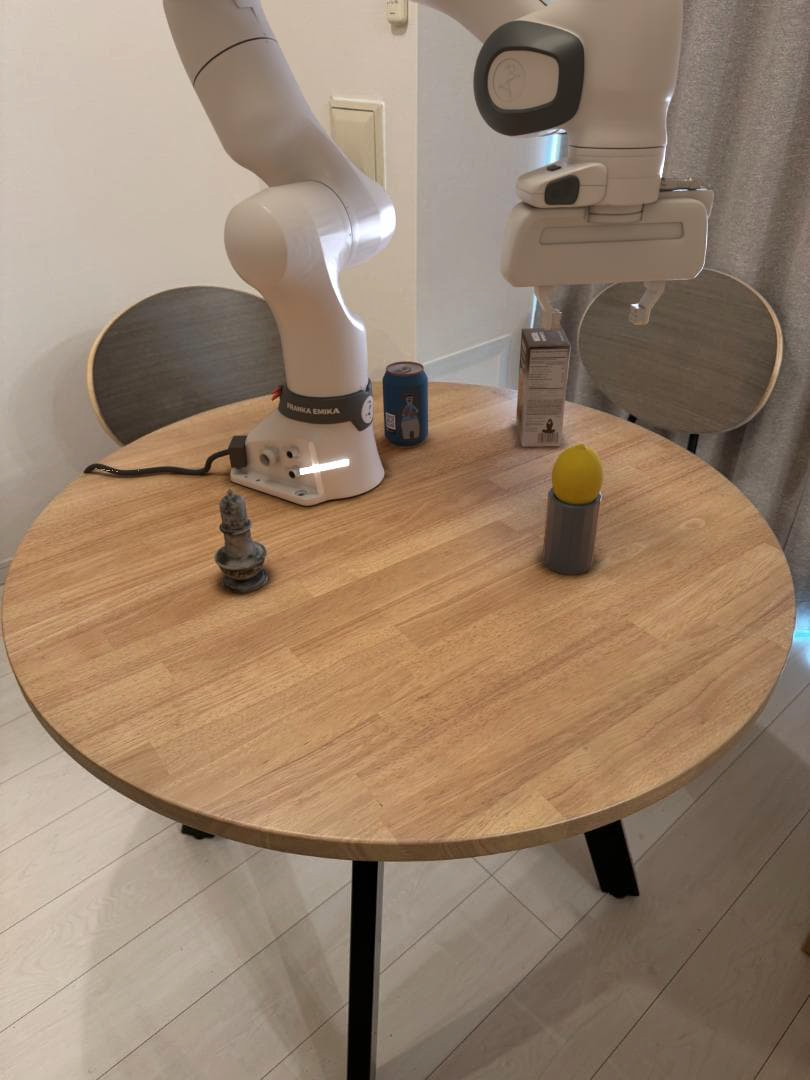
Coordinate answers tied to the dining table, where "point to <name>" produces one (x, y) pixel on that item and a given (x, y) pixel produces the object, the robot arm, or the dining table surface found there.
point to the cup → (570, 535)
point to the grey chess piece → (239, 548)
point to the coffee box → (542, 386)
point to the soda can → (405, 404)
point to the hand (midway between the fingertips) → (594, 325)
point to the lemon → (577, 475)
